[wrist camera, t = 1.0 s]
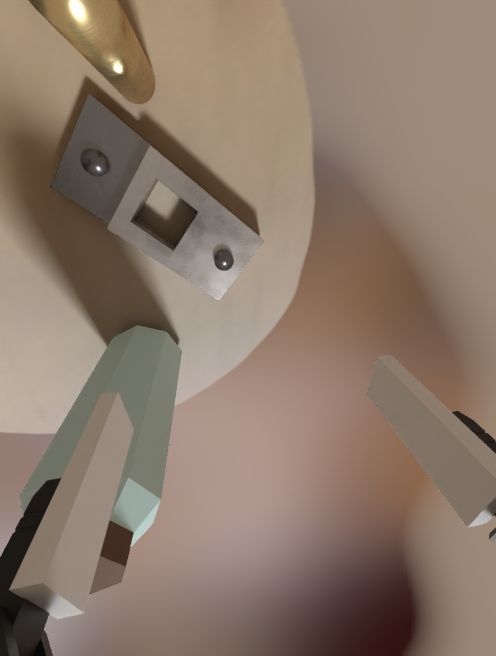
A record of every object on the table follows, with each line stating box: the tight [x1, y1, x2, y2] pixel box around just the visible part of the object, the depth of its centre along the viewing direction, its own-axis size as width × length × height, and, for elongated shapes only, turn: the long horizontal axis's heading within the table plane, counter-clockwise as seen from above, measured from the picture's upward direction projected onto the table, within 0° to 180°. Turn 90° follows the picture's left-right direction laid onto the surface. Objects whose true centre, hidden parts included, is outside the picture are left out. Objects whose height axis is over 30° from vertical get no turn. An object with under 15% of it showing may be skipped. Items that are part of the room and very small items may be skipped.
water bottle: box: [20, 325, 182, 594], centre depth 27 cm, size 10×10×25 cm
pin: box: [29, 0, 155, 104], centre depth 17 cm, size 4×4×14 cm
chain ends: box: [51, 94, 264, 300], centre depth 27 cm, size 20×9×4 cm, turn 52°
